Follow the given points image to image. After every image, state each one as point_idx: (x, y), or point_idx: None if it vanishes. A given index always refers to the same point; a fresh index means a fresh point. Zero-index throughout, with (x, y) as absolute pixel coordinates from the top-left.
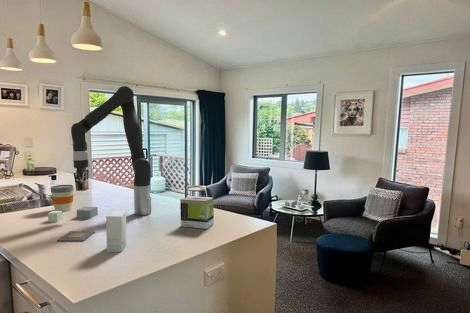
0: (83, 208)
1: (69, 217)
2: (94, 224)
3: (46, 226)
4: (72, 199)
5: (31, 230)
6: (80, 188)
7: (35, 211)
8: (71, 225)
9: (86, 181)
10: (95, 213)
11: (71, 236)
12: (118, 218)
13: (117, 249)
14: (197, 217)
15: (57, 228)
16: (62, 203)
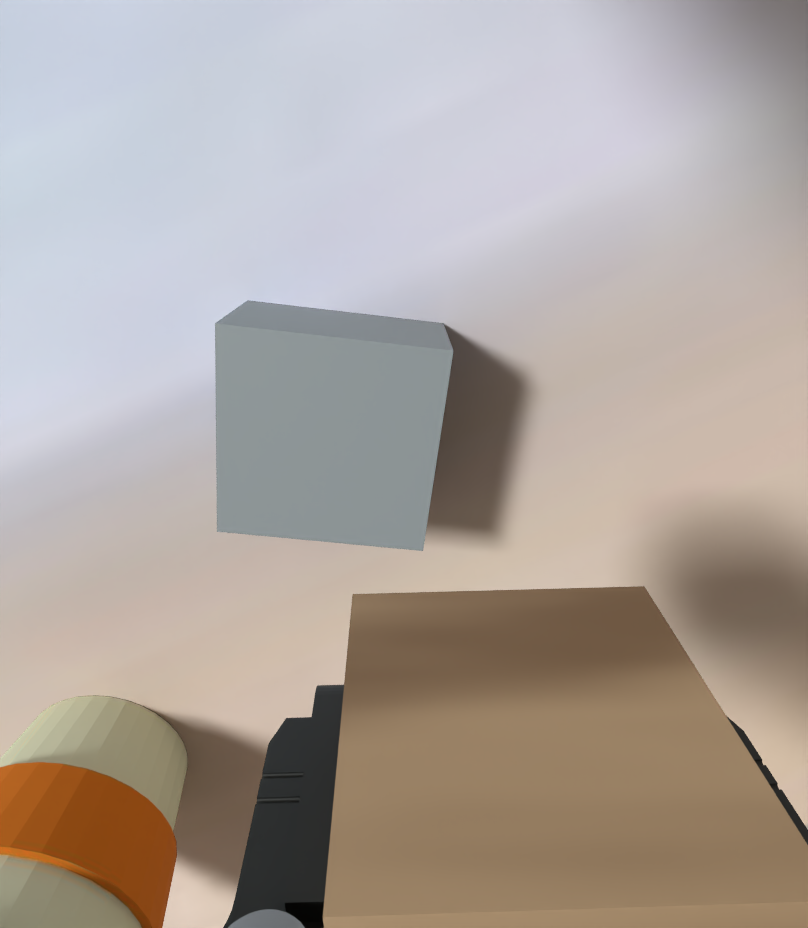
0: (332, 498)
1: (383, 584)
2: (735, 140)
3: (693, 642)
4: (3, 791)
5: (793, 696)
6: (744, 737)
7: (194, 917)
8: (713, 427)
9: (568, 882)
10: (303, 313)
11: None
12: None
13: None
14: None
15: (793, 519)
16: (156, 816)
